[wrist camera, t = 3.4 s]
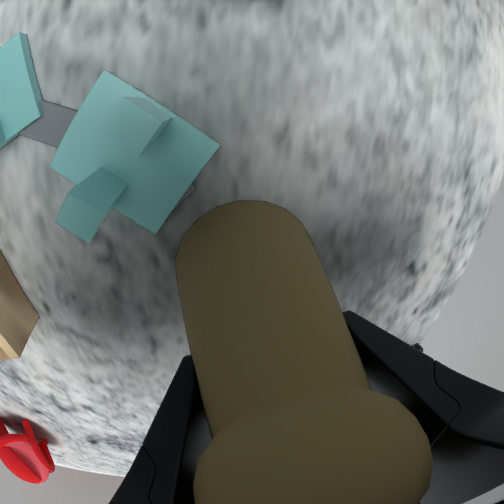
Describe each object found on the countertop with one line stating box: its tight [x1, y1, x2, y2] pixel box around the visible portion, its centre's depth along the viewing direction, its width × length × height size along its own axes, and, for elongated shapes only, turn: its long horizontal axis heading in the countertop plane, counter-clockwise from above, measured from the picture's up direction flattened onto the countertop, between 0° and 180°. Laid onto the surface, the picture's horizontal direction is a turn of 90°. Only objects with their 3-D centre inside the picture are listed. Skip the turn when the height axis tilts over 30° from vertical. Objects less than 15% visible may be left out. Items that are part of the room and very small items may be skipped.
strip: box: [18, 100, 194, 209], centre depth 9 cm, size 4×11×1 cm, turn 63°
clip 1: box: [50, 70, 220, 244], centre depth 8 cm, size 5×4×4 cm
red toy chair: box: [0, 419, 55, 484], centre depth 15 cm, size 8×6×6 cm
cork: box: [176, 201, 433, 504], centre depth 8 cm, size 6×6×11 cm
